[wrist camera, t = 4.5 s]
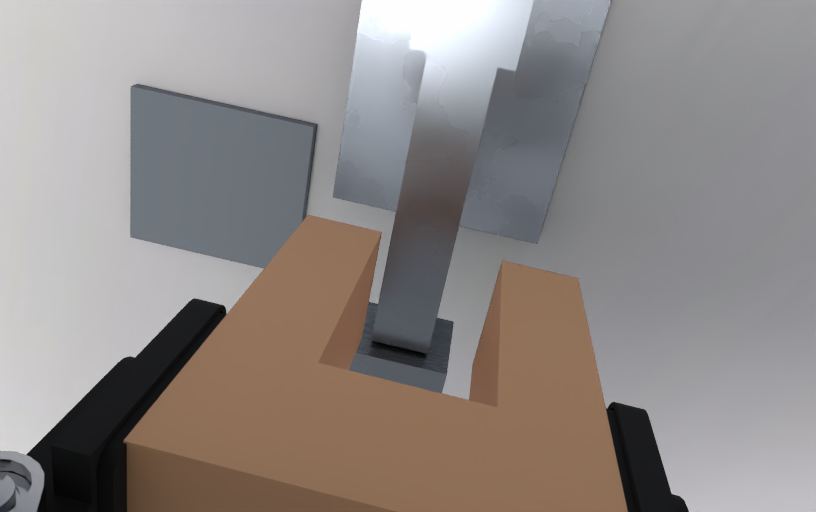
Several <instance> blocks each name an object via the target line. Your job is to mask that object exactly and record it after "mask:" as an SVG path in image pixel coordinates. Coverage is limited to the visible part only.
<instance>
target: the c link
mask: <svg viewBox="0 0 816 512" xmlns="http://www.w3.org/2000/svg"><path fill="white" fill-rule="evenodd" d="M381 234H382V232H379V231H375V230H371V229H366V228H362V227H358V226H354V225H349V224H345V223H341V222H337V221H332V220H328V219H324V218H320V217H315V216H311V215H308V216H307V217H306V218H305V219H304V221H303V222H302V223H301V224H300V226H299V227H298V228H297V229H296V230H295V232H294V233H293V234H292V235H291V237H290V238H289V239H288V240H287V241H286V243H285V244H284V245H283V246H282V248H281V249H280V250H279V251H278V252H277V254H276V255H275V256H274V257H273V259H272V260H271V261H270V262H269V263H268V265H267V266H266V267H265V268H264V270H263V271H262V272H261V273H260V274H259V276H258V277H257V278H256V279H255V281H254V282H253V283H252V284H251V285H250V287H249V288H248V289H247V290H246V292H245V293H244V294H243V295H242V296H241V298H240V299H239V300H238V301H237V303H236V304H235V305H234V306H233V307H232V309H231V310H230V311H229V312H228V314H227V315H226V316H225V317H224V318H223V320H222V321H221V322H220V323H219V325H218V326H217V327H216V328H215V329H214V331H213V332H212V333H211V334H210V336H209V337H208V338H207V339H206V340H205V342H204V343H203V344H202V345H201V347H200V348H199V349H198V350H197V351H196V353H195V354H194V355H193V356H192V358H191V359H190V360H189V361H188V362H187V364H186V365H185V366H184V367H183V369H182V370H181V371H180V372H179V373H178V375H177V376H176V377H175V378H174V380H173V381H172V382H171V383H170V384H169V386H168V387H167V388H166V389H165V391H164V392H163V393H162V394H161V395H160V397H159V398H158V399H157V400H156V402H155V403H154V404H153V405H152V406H151V408H150V409H149V410H148V411H147V413H146V414H145V415H144V416H143V417H142V419H141V420H140V421H139V422H138V424H137V425H136V426H135V427H134V428H133V430H132V431H131V432H130V433H129V435H128V436H127V437H126V438H125V439H124V441H123V443H127V512H628V511H627V506H626V501H625V496H624V492H623V487H622V482H621V478H620V473H619V468H618V463H617V459H616V454H615V449H614V445H613V440H612V435H611V431H610V426H609V421H608V416H607V412H606V407H605V402H604V398H603V393H602V388H601V383H600V379H599V374H598V369H597V365H596V360H595V355H594V351H593V346H592V341H591V336H590V332H589V327H588V322H587V318H586V313H585V308H584V303H583V299H582V294H581V289H580V285H579V280H578V278H574V277H570V276H566V275H561V274H557V273H553V272H549V271H544V270H540V269H536V268H532V267H527V266H523V265H519V264H515V263H511V262H506V261H502V263H501V266H500V270H499V273H498V277H497V281H496V284H495V288H494V291H493V295H492V298H491V302H490V305H489V309H488V312H487V316H486V319H485V323H484V326H483V330H482V333H481V337H480V340H479V344H478V348H477V351H476V355H475V358H474V362H473V366H472V377H471V387H470V397H469V400H466V399H462V398H458V397H454V396H450V395H446V394H442V393H438V392H434V391H430V390H426V389H422V388H417V387H413V386H409V385H405V384H401V383H397V382H393V381H389V380H385V379H381V378H377V377H373V376H369V375H365V374H361V373H357V372H353V371H349V369H350V366H351V364H352V361H353V359H354V356H355V354H356V351H357V349H358V346H359V344H360V341H361V339H362V335H363V330H364V325H365V319H366V314H367V308H368V303H369V298H370V292H371V287H372V282H373V276H374V271H375V266H376V260H377V255H378V250H379V244H380V239H381Z"/></svg>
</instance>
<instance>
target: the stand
mask: <svg viewBox="0 0 816 512" xmlns="http://www.w3.org/2000/svg"><path fill="white" fill-rule="evenodd" d="M610 3H611V0H362V4H361V11H360V17H359V24H358V31H357V38H356V45H355V51H354V58H353V65H352V72H351V78H350V85H349V92H348V99H347V105H346V112H345V119H344V126H343V133H342V139H341V146H340V153H339V160H338V166H337V173H336V180H335V187H334V193H333V197H334V198H338V199H343V200H347V201H351V202H356V203H360V204H364V205H369V206H373V207H378V208H382V209H386V210H391V211H395V212H396V216H395V221H394V226H393V231H392V236H391V241H390V246H389V252H388V257H387V262H386V267H385V272H384V277H383V282H382V287H381V292H380V298H379V303H378V304H375V303H371V302H369V303H368V308H367V314H366V319H365V325H364V330H363V335H362V339H361V341H360V344H359V346H358V349H357V351H356V354H355V356H354V359H353V361H352V364H351V366H350V369H349V371H353V372H357V373H361V374H365V375H369V376H373V377H377V378H381V379H385V380H389V381H393V382H397V383H401V384H405V385H409V386H413V387H417V388H422V389H426V390H430V391H434V392H438V393H442V390H443V386H444V383H445V379H446V375H447V368H448V360H449V353H450V345H451V338H452V330H453V322H452V321H448V320H444V319H440V318H437V314H438V310H439V306H440V302H441V297H442V293H443V289H444V285H445V281H446V277H447V273H448V269H449V265H450V260H451V256H452V252H453V248H454V244H455V240H456V236H457V232H458V228H459V226H461V227H465V228H470V229H474V230H479V231H483V232H487V233H492V234H496V235H501V236H505V237H509V238H514V239H518V240H523V241H527V242H531V243H536V244H537V242H538V239H539V236H540V233H541V229H542V226H543V223H544V219H545V216H546V213H547V210H548V206H549V203H550V200H551V197H552V193H553V190H554V187H555V183H556V180H557V177H558V174H559V170H560V167H561V164H562V160H563V157H564V154H565V151H566V147H567V144H568V141H569V138H570V134H571V131H572V128H573V124H574V121H575V118H576V115H577V111H578V108H579V105H580V102H581V98H582V95H583V92H584V88H585V85H586V82H587V79H588V75H589V72H590V69H591V65H592V62H593V59H594V56H595V52H596V49H597V46H598V43H599V39H600V36H601V33H602V29H603V26H604V23H605V20H606V16H607V13H608V10H609V7H610Z"/></svg>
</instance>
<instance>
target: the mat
mask: <svg viewBox="0 0 816 512" xmlns="http://www.w3.org/2000/svg"><path fill="white" fill-rule="evenodd" d="M316 129H317V124H313V123H309V122H304V121H300V120H295V119H291V118H286V117H282V116H277V115H273V114H268V113H264V112H259V111H255V110H251V109H246V108H242V107H237V106H233V105H228V104H224V103H219V102H215V101H210V100H206V99H201V98H197V97H192V96H188V95H183V94H179V93H174V92H170V91H165V90H161V89H156V88H152V87H147V86H143V85H139V84H136V85H133V86H131V229H130V237H132V238H136V239H140V240H145V241H149V242H153V243H157V244H162V245H166V246H170V247H175V248H179V249H183V250H187V251H192V252H196V253H200V254H205V255H209V256H213V257H217V258H222V259H226V260H230V261H235V262H239V263H243V264H247V265H252V266H256V267H260V268H265V267H266V266H267V265H268V263H269V262H270V261H271V260H272V259H273V257H274V256H275V255H276V254H277V252H278V251H279V250H280V249H281V248H282V246H283V245H284V244H285V243H286V241H287V240H288V239H289V238H290V237H291V235H292V234H293V233H294V232H295V230H296V229H297V228H298V227H299V226H300V224H301V223H302V222H303V221H304V219H305V214H306V206H307V198H308V191H309V183H310V175H311V167H312V160H313V152H314V144H315V136H316Z"/></svg>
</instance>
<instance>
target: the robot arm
mask: <svg viewBox="0 0 816 512" xmlns="http://www.w3.org/2000/svg"><path fill="white" fill-rule="evenodd" d="M226 315H227V314H226V308H225V307H224V305H220V304H216V303H212V302H208V301H203V300H199V299H192V300H191V301H190V302H189V303H188V304H187V305H186V306H185V307H184V308H183V309H182V310H181V311H180V312H179V313H178V314H177V315H176V316H175V317H174V318H173V319H172V320H171V321H170V322H169V323H168V324H167V325H166V326H165V327H164V329H163V330H162V331H161V332H160V333H159V334H158V335H157V336H156V337H155V338H154V339H153V340H152V341H151V342H150V343H149V344H148V345H147V346H146V347H145V348H144V349H143V350H142V351H141V352H140V353H139V354H138V355H137V356H136V358H134V357H126V358H124V359H122V360H121V361H120V362H118V363H117V364H116V365H115V366H114V367H113V368H112V369H111V370H110V371H109V372H108V373H107V374H106V375H105V376H104V377H103V378H102V379H101V380H100V381H99V382H98V383H97V384H96V385H95V386H94V387H93V388H92V389H91V390H90V391H89V392H88V393H87V394H86V396H85V397H84V398H83V399H82V400H81V401H80V402H79V403H78V404H77V405H76V406H75V407H74V408H73V409H72V410H71V411H70V412H69V413H68V414H67V415H66V416H65V417H64V418H63V419H62V420H61V421H60V422H59V423H58V424H57V425H56V426H55V427H54V428H53V429H52V430H51V431H50V432H49V433H48V434H47V435H46V436H45V437H44V438H43V439H42V440H41V441H40V442H39V443H38V444H37V445H36V446H35V447H34V448H33V449H32V450H31V451H30V452H29V453H28V454H27V455H24V454H21V453H18V452H12V451H0V512H127V443H123V441H124V439H125V438H126V437H127V436H128V435H129V433H130V432H131V431H132V430H133V428H134V427H135V426H136V425H137V424H138V422H139V421H140V420H141V419H142V417H143V416H144V415H145V414H146V413H147V411H148V410H149V409H150V408H151V406H152V405H153V404H154V403H155V402H156V400H157V399H158V398H159V397H160V395H161V394H162V393H163V392H164V391H165V389H166V388H167V387H168V386H169V384H170V383H171V382H172V381H173V380H174V378H175V377H176V376H177V375H178V373H179V372H180V371H181V370H182V369H183V367H184V366H185V365H186V364H187V362H188V361H189V360H190V359H191V358H192V356H193V355H194V354H195V353H196V351H197V350H198V349H199V348H200V347H201V345H202V344H203V343H204V342H205V340H206V339H207V338H208V337H209V336H210V334H211V333H212V332H213V331H214V329H215V328H216V327H217V326H218V325H219V323H220V322H221V321H222V320H223V318H224V317H225V316H226ZM606 412H607V416H608V421H609V426H610V431H611V435H612V440H613V445H614V449H615V454H616V459H617V463H618V468H619V473H620V478H621V482H622V487H623V492H624V496H625V501H626V506H627V511H628V512H689V511H688V508H687V506H686V504H685V502H684V500H683V499H682V498H681V497H680V496H677V495H673V494H671V491H670V487H669V484H668V481H667V477H666V474H665V470H664V467H663V464H662V460H661V457H660V454H659V450H658V447H657V444H656V440H655V437H654V433H653V430H652V427H651V423H650V420H649V417H648V414H647V412H646V411H645V410H644V409H640V408H636V407H632V406H628V405H624V404H620V403H616V402H613V403H611V404H610V405H609V407H608V409H606Z"/></svg>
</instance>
